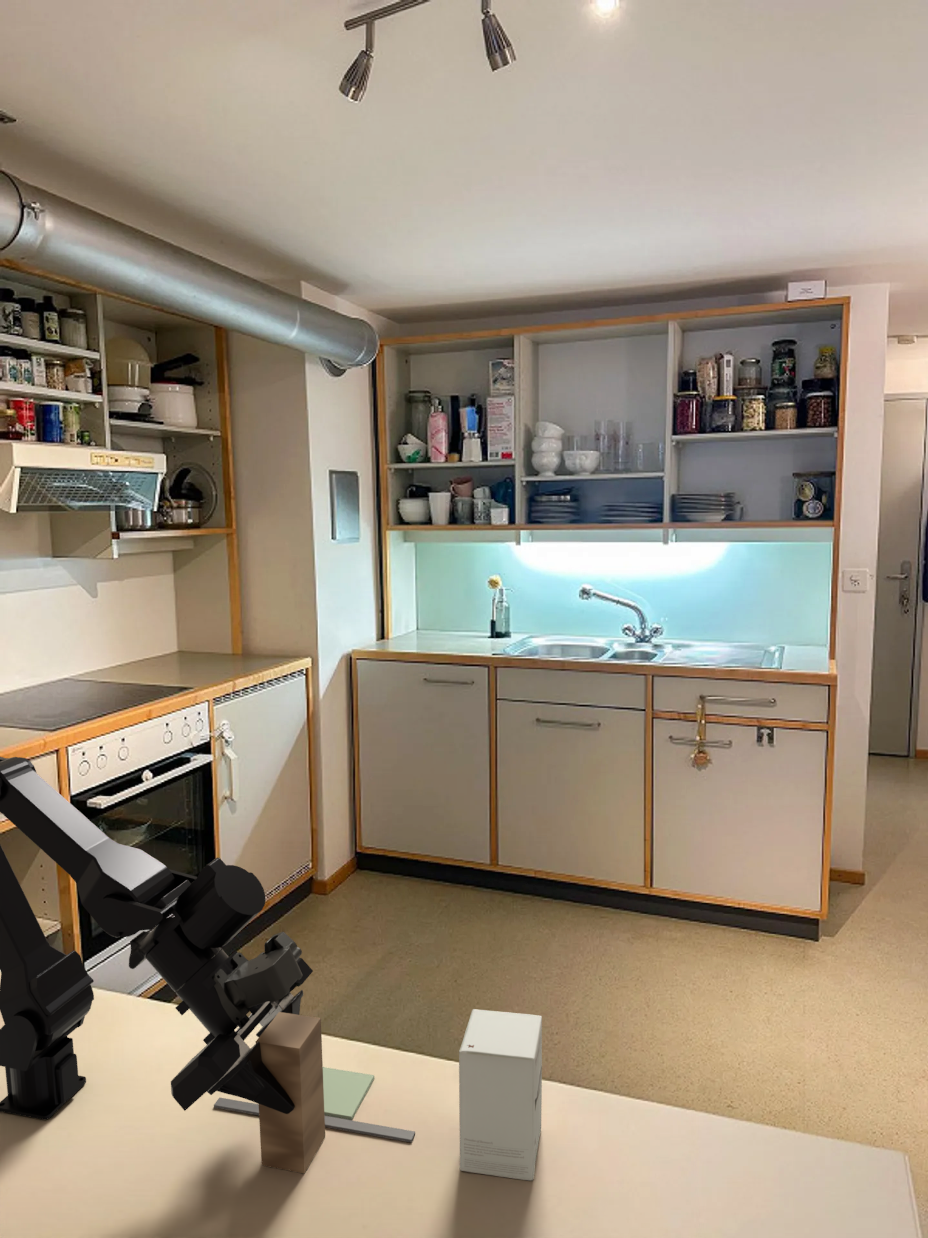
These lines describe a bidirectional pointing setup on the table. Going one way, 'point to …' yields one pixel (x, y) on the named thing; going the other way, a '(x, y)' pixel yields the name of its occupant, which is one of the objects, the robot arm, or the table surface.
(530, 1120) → the supplement box
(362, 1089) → the mat
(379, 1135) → the charcoal strip
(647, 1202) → the table surface
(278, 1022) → the walnut post
